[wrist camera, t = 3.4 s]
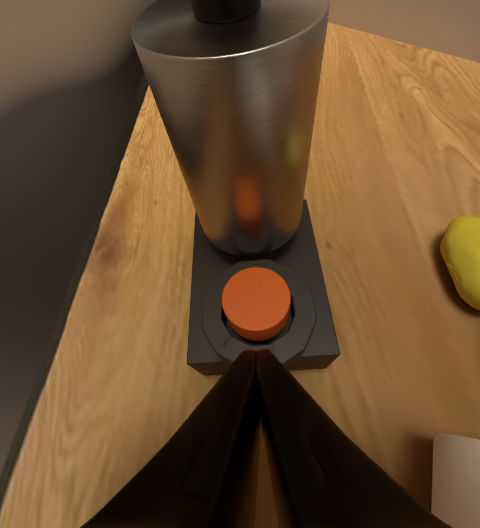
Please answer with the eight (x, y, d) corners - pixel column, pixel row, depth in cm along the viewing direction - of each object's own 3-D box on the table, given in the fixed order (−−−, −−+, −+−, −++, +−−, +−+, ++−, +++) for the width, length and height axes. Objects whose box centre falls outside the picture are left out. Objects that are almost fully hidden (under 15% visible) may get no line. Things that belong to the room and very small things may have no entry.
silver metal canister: (308, 251, 17) (366, -24, 6) (199, 261, 17) (88, 21, 7) (293, 174, 20) (314, -85, 10) (202, 184, 21) (132, -52, 10)
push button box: (328, 379, 19) (351, 362, 13) (203, 386, 20) (175, 373, 14) (301, 234, 25) (308, 182, 20) (207, 243, 26) (189, 194, 21)
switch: (292, 339, 15) (295, 328, 13) (227, 343, 15) (221, 333, 13) (284, 280, 17) (286, 264, 15) (226, 285, 17) (221, 269, 15)
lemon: (442, 314, 20) (475, 293, 17) (426, 229, 24) (451, 199, 21) (506, 322, 20) (554, 301, 16) (479, 233, 24) (514, 202, 20)
